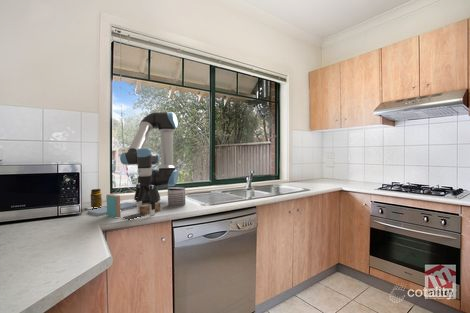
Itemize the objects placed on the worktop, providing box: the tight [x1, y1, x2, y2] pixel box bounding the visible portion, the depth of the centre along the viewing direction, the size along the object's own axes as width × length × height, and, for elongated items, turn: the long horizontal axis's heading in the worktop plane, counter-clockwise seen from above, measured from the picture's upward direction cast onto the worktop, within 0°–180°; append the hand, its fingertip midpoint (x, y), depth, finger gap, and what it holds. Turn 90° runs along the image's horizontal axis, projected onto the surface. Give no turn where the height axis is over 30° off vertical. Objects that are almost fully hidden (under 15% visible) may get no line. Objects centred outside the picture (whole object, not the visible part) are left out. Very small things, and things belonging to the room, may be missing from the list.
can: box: [167, 186, 186, 208], centre depth 150 cm, size 11×11×12 cm
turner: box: [122, 201, 162, 221], centre depth 128 cm, size 21×6×5 cm, turn 147°
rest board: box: [87, 202, 137, 217], centre depth 141 cm, size 24×13×2 cm, turn 147°
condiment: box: [90, 188, 103, 208], centre depth 148 cm, size 7×8×12 cm
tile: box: [105, 193, 122, 218], centre depth 126 cm, size 2×10×12 cm, turn 57°
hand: (145, 213), depth 129 cm, fingers open, 11 cm apart
